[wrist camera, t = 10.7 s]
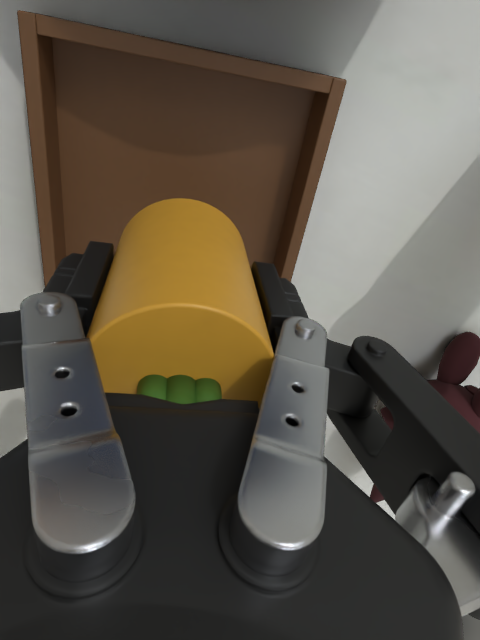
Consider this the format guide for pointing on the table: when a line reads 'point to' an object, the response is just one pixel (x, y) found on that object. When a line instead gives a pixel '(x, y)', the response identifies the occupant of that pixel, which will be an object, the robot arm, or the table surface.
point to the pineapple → (181, 310)
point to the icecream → (452, 384)
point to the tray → (168, 137)
